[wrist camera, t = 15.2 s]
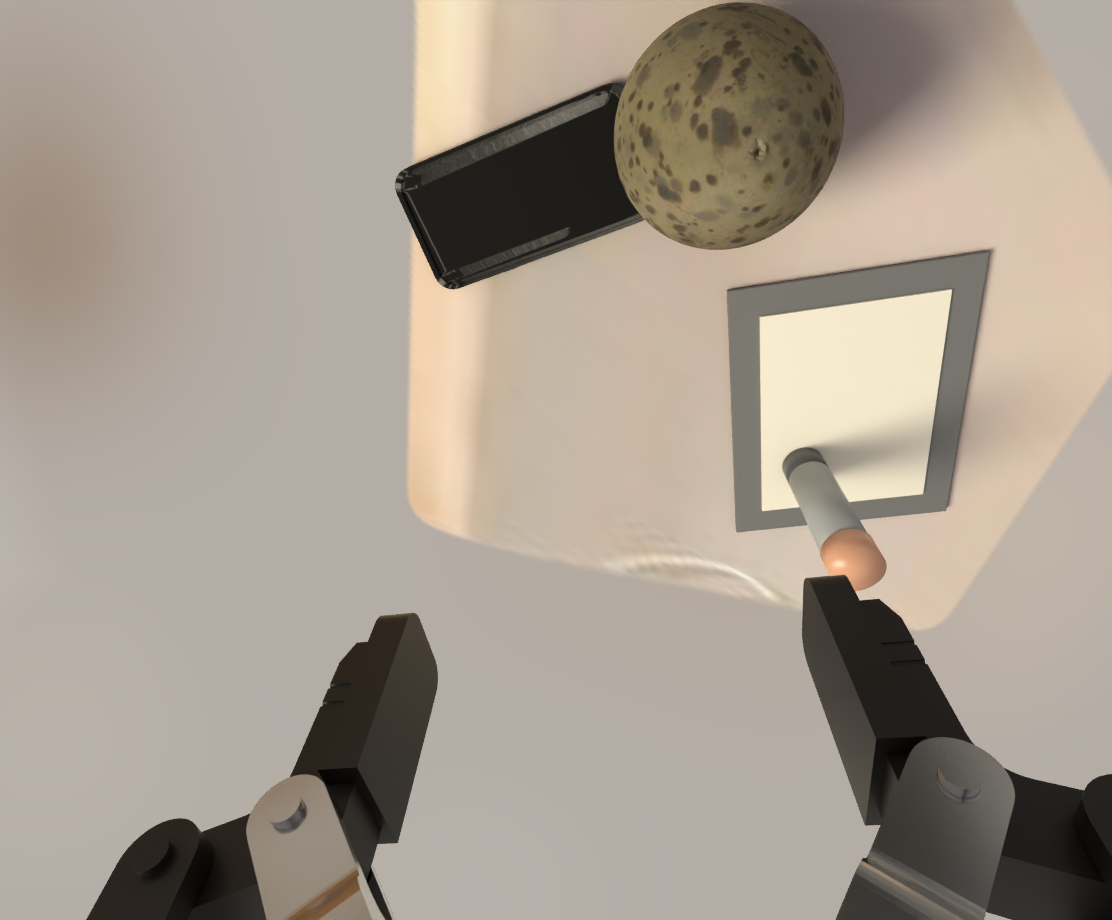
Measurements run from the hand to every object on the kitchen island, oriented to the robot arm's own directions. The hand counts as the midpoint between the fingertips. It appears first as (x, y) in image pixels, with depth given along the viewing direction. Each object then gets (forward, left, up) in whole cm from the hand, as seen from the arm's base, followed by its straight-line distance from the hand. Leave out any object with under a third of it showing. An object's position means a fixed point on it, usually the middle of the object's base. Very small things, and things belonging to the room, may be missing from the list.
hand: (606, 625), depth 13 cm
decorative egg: (-6, +7, -33) cm, 35 cm away
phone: (-4, -4, -34) cm, 34 cm away
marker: (+18, +13, -32) cm, 39 cm away
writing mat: (+14, +16, -33) cm, 39 cm away
